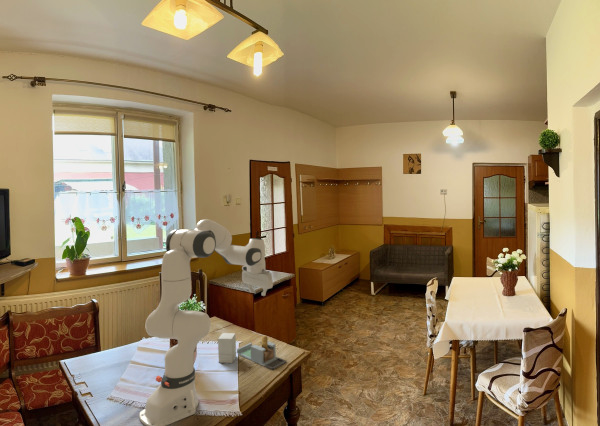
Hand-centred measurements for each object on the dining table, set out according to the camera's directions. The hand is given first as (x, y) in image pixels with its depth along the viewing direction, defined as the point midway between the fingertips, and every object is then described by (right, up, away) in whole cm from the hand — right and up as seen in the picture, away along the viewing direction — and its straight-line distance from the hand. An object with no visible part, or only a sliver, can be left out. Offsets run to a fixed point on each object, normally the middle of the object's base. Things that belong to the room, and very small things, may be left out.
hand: (257, 293), depth 190 cm
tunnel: (+3, -32, -5) cm, 33 cm away
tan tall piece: (+4, -31, -7) cm, 32 cm away
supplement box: (-15, -33, -6) cm, 36 cm away
